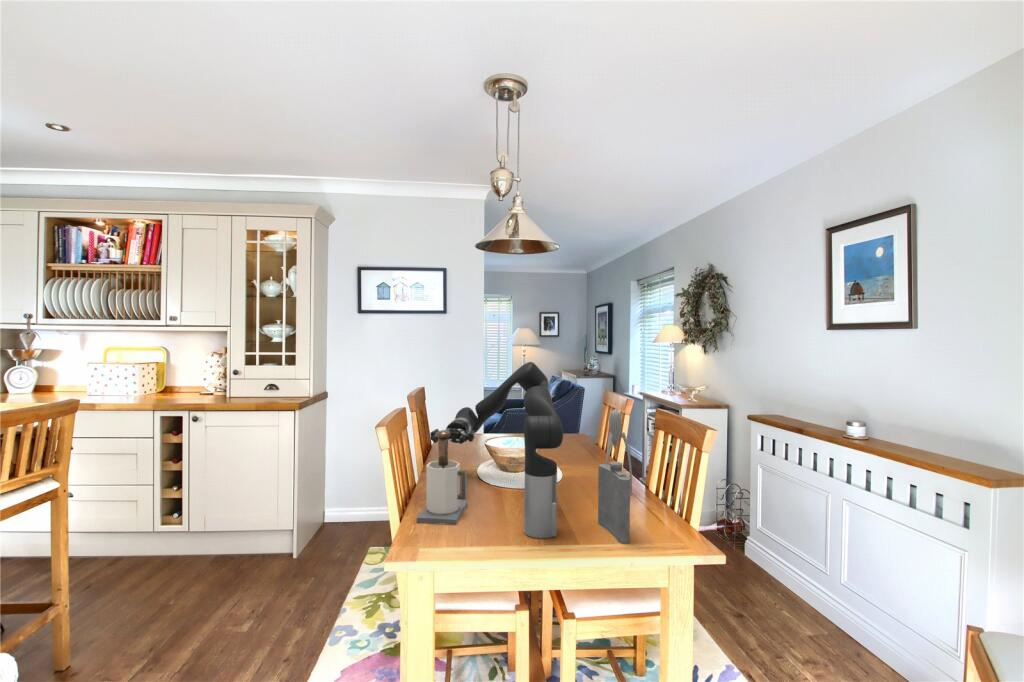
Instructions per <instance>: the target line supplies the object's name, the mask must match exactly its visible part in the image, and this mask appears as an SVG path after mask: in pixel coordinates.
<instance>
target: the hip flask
mask: <svg viewBox="0 0 1024 682" xmlns="http://www.w3.org/2000/svg"><path fill="white" fill-rule="evenodd" d="M622 467H623V462H622V461H621V462H620V461H609V464H608V465H607V464H606V463H601V464H598V477H597V478H598V479H597V480H598V485H597V486H598V490H597V491H598V493H597V505H598V506H597V524H598V526H599V525H600V526H601V527H603V528H604V529H605V530H607V532H609V533H610V534H611V535H612V536H613V537H614V538H615V539H616V541H617V543H619V544H622V545H628V544H629V543H630V540H631V539H630V538H631V537H630V535H631V534H630V533H631V529H630V528H631V526H630V525H631V496H630V476H629V475H628V474H626V473H625V472H624V471H623V468H622Z"/></svg>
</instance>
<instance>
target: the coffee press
mask: <svg viewBox="0 0 1024 682" xmlns="http://www.w3.org/2000/svg"><path fill="white" fill-rule="evenodd" d="M425 471H426V472H425V473H426V476H425V477H426V481H425V482H426V485H425V486H426V491H425V492H426V505H425V507H424V508H423V509H422V510H421V512H420V513H419V514H418V515H417V517H416V523H417V522H427V523H426V524H433V523H446V524H445V525H452V524H456V523H457V524H458V522H459V521H460V519H461V517H462V516H463V514H462V513H465V510H466V509H467V508H468V500H467V492H468V491H467V487H468V486H467V485H468V484H467V482H468V481H467V470H461V464H460V462H457V461H455V460H449V459H448V465H447V466H445V469H442V466H439V465H438V460H434V461H433V460H432V461H430V462H428V464H426V470H425ZM460 479H461V481H460ZM460 482H461V483H460ZM460 484H461V488H460ZM460 491H461V493H460ZM465 508H466V509H465ZM461 515H462V516H461ZM459 518H460V519H459ZM458 520H459V521H458ZM457 524H456V525H457Z"/></svg>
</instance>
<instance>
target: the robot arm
mask: <svg viewBox="0 0 1024 682" xmlns="http://www.w3.org/2000/svg"><path fill="white" fill-rule="evenodd" d="M516 384H518V385H519V386H520V387H521V388H522V389H523V391H525V393H524V396H523V406H524V407H523V408H524V411H525V413H526V414H527V417H526V418H525V420H524V422H523V423H524V424H523V441H524V490H523V491H524V499H523V500H524V503H523V504H524V506H523V507H524V509H523V510H524V512H523V513H524V516H523V518H524V520H523V526H524V527H523V529H524V530H523V532H524V534H525V535H526V536H528V537H531V538H536V539H547V538H548V539H549V538H553V537H554V538H555V537H556V538H557V535H558V532H557V531H558V496H557V495H558V464H557V462H556V461H554V460H553V459H551V458H548V457H546V456H543V455H541V454H539V453H538V452H537V449H539V450H544V449H545V450H547V449H549V450H551V449H552V450H553V449H558V448H559V447H561V445H562V443H563V440H564V428H563V425H562V421H561V419H560V417H559V415H558V414H557V412H556V410H555V406H554V402H553V399H552V396H551V393H550V390H549V381H548V377H547V376H546V374H544V372H543V371H542V370H541V369H540V368H539V367H538V366H537V364H535V362H532V361H529V362H526V363H524V364H523V365H521V366H519V368H517V370H515V371H514V372H513V373H512V374H510V376H509V377H508V378H507V379H505V380H504V381H503V382H502V383H501V385H499V386H498V387H497V388H496V389H495V390H494V391H492V392H491V393H490V394H489V395H487V396H486V397H485V398H483V399H482V400H480V401H479V402H477V404H476V405H475V408H474V409H475V411H474V410H473V409H472V408H470V407H468V406H467V407H466V406H465V407H462V408H461V409H460V410H458V411H457V413H456V414H455V417H454V420H452V421H451V422H450V423H448V424H447V426H446V428H445V429H441V430H439V428H436V429H433V431H431V432H430V441H431V442H433V444H436V443H438V437H436V432H437V431H450V437H448V441H450V442H451V443H454V444H459V445H463V444H464V443H466V442H473V441H474V439H475V434H476V433H477V432H479V430H480V429H481V427H482V426H483V425H484V423H486V422H487V421H488V420H489V419H490V418H491V417H492V416H494V415H496V414H497V413H498V412H499V411H501V410H502V409H503V407H504V406H505V404H506V403H507V399H508V396H509V394H510V392H511V390H512V388H513V387H514V386H515V385H516Z"/></svg>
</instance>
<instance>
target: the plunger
mask: <svg viewBox="0 0 1024 682" xmlns="http://www.w3.org/2000/svg"><path fill="white" fill-rule="evenodd" d="M436 437H438V442H437V443H438V444H437V445H438V449H437V450H438V451H437V453H438V456H437V457H438V459H437V461H438V465H439V466H442V469H445V466H447V465H448V460H449V440H448V437H450V431H441V430H439V431H437V432H436Z"/></svg>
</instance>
